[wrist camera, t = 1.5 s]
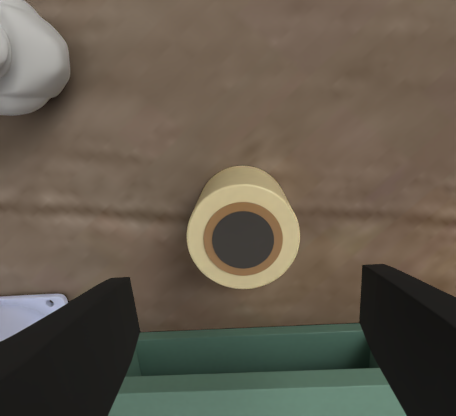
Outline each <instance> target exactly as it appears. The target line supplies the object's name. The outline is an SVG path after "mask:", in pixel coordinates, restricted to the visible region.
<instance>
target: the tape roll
mask: <svg viewBox="0 0 456 416" xmlns="http://www.w3.org/2000/svg"><path fill="white" fill-rule="evenodd" d="M186 236H187V246H188V250H189V253H190V256H191V258H192V260H193V262H194V263H195V264H196V266H197V267H198V269H199V270H200V271H201V272H202V273H203V274H204V275H205V276H207V277H208V278H209V279H211V280H212V281H214V282H216V283H218V284H220V285H223V286H226V287H230V288H236V289H251V288H257V287H261V286H264V285H266V284H269V283H271V282H273V281H274V280H276V279H277V278H279V277H280V276H281V275H282V274H284V273H285V271H286V270H287V269H288V268H289V267H290V265H291V264H292V263H293V261H294V259H295V257H296V255H297V252H298V249H299V244H300V228H299V224H298V220H297V218H296V215H295V213H294V211H293V210H292V208H291V206H290V204H289V202H288V200H287V198H286V197H285V195H284V193H283V191H282V189H281V187H280V186H279V184H278V183H277V182H276V180H275V179H274V178H273V177H272V176H270V175H269V174H268V173H266V172H264V171H263V170H260V169H258V168H255V167H251V166H234V167H230V168H227V169H224V170H222V171H220V172H219V173H217V174H216V175H214V176H213V177H212V178H211V179H210V180H209V181H208V182H207V184H206V185H205V187H204V189H203V190H202V193H201V195H200V197H199V199H198V201H197V204H196V206H195V208H194V210H193V212H192V214H191V217H190V219H189V222H188V227H187V235H186Z"/></svg>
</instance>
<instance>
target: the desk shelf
mask: <svg viewBox="0 0 456 416" xmlns="http://www.w3.org/2000/svg"><path fill="white" fill-rule="evenodd" d="M108 416H407V415H406V414H405V412H404V410H403V408H402V407H401V405H400V403H399V401H398V399H397V398H396V396H395V394H394V392H393V391H392V389H391V387H390V385H389V384H388V382H387V380H386V378H385V376H384V375H383V373H382V371H381V369H380V367H379V366H378V364H377V362H376V360H375V358H374V356H373V355H372V353H371V350H370V348H369V345H368V343H367V341H366V338H365V336H364V333H363V330H362V328H361V325H360V323H350V324H327V325H303V326H280V327H256V328H233V329H210V330H186V331H163V332H140V334H139V338H138V341H137V345H136V349H135V352H134V355H133V358H132V362H131V364H130V366H129V369H128V371H127V374H126V376H125V378H124V380H123V383H122V385H121V387H120V390H119V392H118V394H117V396H116V399H115V401H114V403H113V405H112V408H111V410H110V412H109V415H108Z"/></svg>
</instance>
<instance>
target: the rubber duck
mask: <svg viewBox="0 0 456 416" xmlns="http://www.w3.org/2000/svg"><path fill="white" fill-rule="evenodd" d="M69 78H70V59H69V51H68V46H67V43H66V42H65V40H64V39H63V38H62V36H61V35H60V34H59V33H58V32H57V30H56V29H55V28H54V27H53V26H52V25H51V24H49V23H48V22H47V21H45V20H44V19H43V18H41V17H40V16H39V14H38V13H37V12H36V11H35V9H34V8H33V7H32V6H30V5H29V4H28V3H27V2H25V1H24V0H0V115H10V116H16V115H23V114H28V113H32V112H34V111H36V110H38V109H40V108H41V107H42V106H44V105H45V104H46V103H47V101H48V100H49V99H50V98H53V97H56V96H57V95H59V93H60V92H61V91H62V90H63V88H64V87H65V85H66V84H67V82H68V80H69Z"/></svg>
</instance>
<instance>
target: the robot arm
mask: <svg viewBox="0 0 456 416" xmlns="http://www.w3.org/2000/svg"><path fill="white" fill-rule="evenodd" d="M50 300H51V301H53V303H51V302H50ZM359 323H360V325H361V328H362V330H363V333H364V336H365V338H366V341H367V343H368V345H369V348H370V350H371V353H372V355H373V356H374V358H375V360H376V362H377V364H378V366H379V367H380V369H381V371H382V373H383V375H384V376H385V378H386V380H387V382H388V384H389V385H390V387H391V389H392V391H393V392H394V394H395V396H396V398H397V399H398V401H399V403H400V405H401V407H402V408H403V410H404V412H405V414H406V415H407V416H456V297H454V296H452V295H450V294H447V293H445V292H443V291H441V290H439V289H437V288H435V287H433V286H431V285H429V284H427V283H424V282H422V281H420V280H418V279H416V278H414V277H412V276H410V275H408V274H406V273H404V272H402V271H399V270H397V269H395V268H393V267H390V266H388V265H385V264H374V265H363V266H362V285H361V303H360V322H359ZM139 334H140V328H139V323H138V318H137V313H136V308H135V302H134V297H133V292H132V287H131V281H130V277H123V278H110V279H108V280H106V281H104V282H102V283H100V284H98V285H97V286H95V287H93V288H92V289H90V290H88V291H87V292H85V293H83V294H82V295H80V296H79V297H77V298H75V299H74V300H72V301H70V302H69V303H68V300H67V298H66V297H65V296H64V295H63V294H39V295H19V296H0V416H108V415H109V412H110V410H111V408H112V405H113V403H114V401H115V399H116V396H117V394H118V392H119V390H120V387H121V385H122V383H123V380H124V378H125V376H126V374H127V371H128V369H129V366H130V364H131V362H132V358H133V355H134V352H135V349H136V345H137V341H138V338H139Z"/></svg>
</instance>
